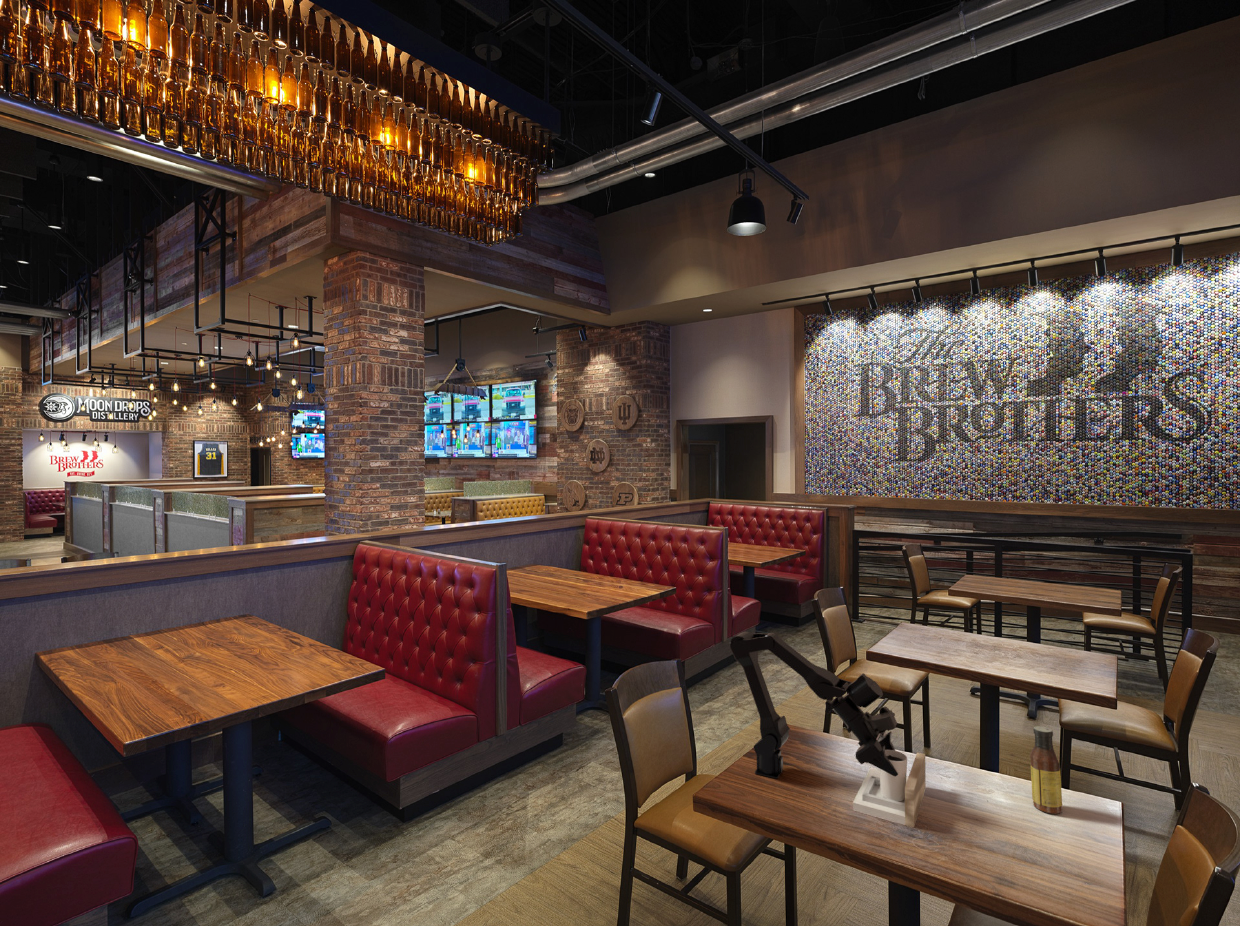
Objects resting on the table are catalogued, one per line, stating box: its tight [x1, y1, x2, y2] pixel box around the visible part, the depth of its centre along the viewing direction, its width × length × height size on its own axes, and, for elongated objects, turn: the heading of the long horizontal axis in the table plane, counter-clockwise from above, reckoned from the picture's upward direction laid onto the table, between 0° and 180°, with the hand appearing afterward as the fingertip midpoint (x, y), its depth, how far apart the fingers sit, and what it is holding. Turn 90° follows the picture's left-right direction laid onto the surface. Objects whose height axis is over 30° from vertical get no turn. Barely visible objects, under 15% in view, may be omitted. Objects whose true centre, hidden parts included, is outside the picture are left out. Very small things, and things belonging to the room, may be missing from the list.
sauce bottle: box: [1030, 725, 1063, 815], centre depth 157 cm, size 7×6×20 cm
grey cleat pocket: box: [852, 767, 909, 826], centre depth 162 cm, size 12×22×4 cm, turn 147°
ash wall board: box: [904, 752, 927, 828], centre depth 158 cm, size 2×22×9 cm, turn 147°
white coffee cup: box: [879, 750, 908, 801], centre depth 159 cm, size 7×7×10 cm
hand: (898, 770), depth 158 cm, fingers closed on white coffee cup, 6 cm apart
